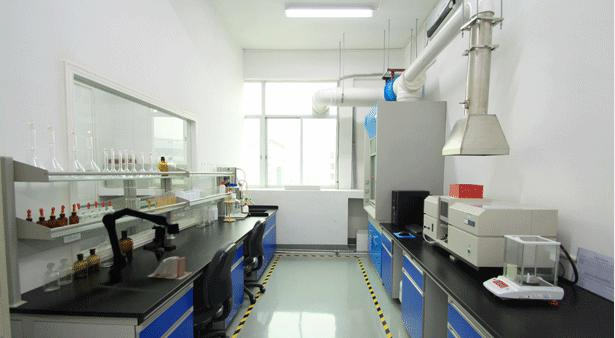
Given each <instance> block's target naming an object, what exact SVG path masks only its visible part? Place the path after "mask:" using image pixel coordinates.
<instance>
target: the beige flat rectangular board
mask: <svg viewBox="0 0 615 338" xmlns="http://www.w3.org/2000/svg"><path fill="white" fill-rule="evenodd" d="M191 274H193V271H191V272H190V271H185V274H184V275H182V276H180V277H177V275H175V276H171V274H170V275H168V276H166V275H165V274H163V275H160V274H159V273H158V274H156V275H155V274H154V272H153V273H151V274H149V275H147V277H148V278H149V277H150V278H158V279H159V278H161V279H170V280H171V279H173V280H182V279H184V278H186V277H187V276H189V275H191Z"/></svg>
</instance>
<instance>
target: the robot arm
mask: <svg viewBox="0 0 615 338" xmlns="http://www.w3.org/2000/svg"><path fill="white" fill-rule="evenodd" d="M125 216H129V217H133V218H137V219H141V220H145V221H148V222H151V223H153V224H154V225H153V226H152V227H151V228H150V229H151V230H154V238H153V237H152V241H150V242H149V243H146V244H144V245H143V246H142V251H146V252H151V253H153V254H154V256H155V258H156V260H157V262H158V263H159V262H160V263H161V262H162V260H163V259H162V258H163V256H164V254H165V253H166V252H167V253H170V252H173V251H176V250H177V246H176V244H168V245H167V243H166V239H167V238H168V237H167V236H166V235H167V234H168V236H173V235H179V234H180V225H179V223H177V222H176V223H169V222H168V221H167V218H166V216H164V214H156V213H154V214H153V213H148V212H145V211H144V212H143V211H141V210H137V209H133V208H130V207H123V208H122V209H120V210H117V211H114V212H107V213H105V214H104V215H103V216H102V218H101V222H102V224H103V226H104V228H105V229H106V231H107V235H108V238H109V243H110V246H111V250H112V251H111V252H112V257H113V258H112V260H113V261H112V264H111V265H110V266H108V272H107V278H106V281H107V283H108V284H109V286H113V285H111V284H118V283H121V282H123V277H124V275H123V274H124V273H123V271H122V270H123V269H125V268H126V266H127V263H128V258H127V255H126V254H127V253H126V252H124V253H123V251H122V249H121V246H120V245H121V244H120V241H119V236H118V232H117V229H116V228H117V227H116V225H117V220H119V219H121V218H123V217H125Z"/></svg>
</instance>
